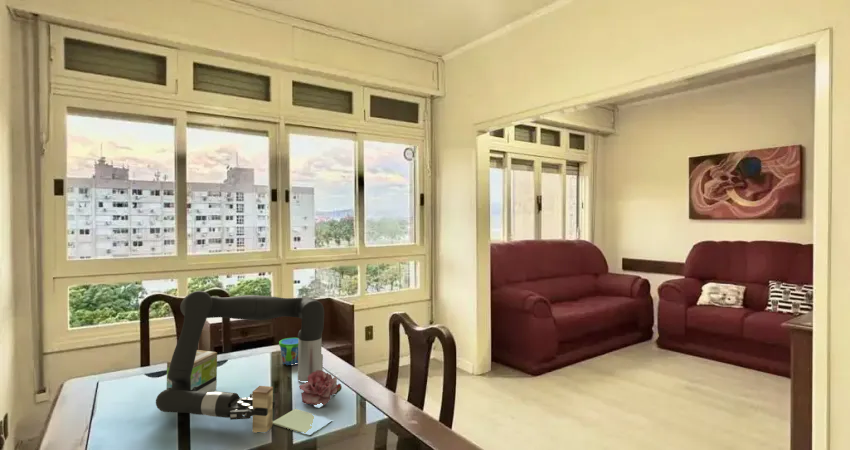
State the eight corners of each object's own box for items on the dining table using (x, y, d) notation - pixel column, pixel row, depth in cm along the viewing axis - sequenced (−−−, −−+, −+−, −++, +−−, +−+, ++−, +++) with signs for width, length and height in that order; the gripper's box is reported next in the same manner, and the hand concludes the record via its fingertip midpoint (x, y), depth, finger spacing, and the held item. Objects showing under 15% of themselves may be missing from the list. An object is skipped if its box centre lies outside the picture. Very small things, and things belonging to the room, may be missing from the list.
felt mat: (295, 410, 160) (295, 408, 160) (332, 421, 153) (332, 419, 153) (271, 423, 150) (271, 422, 150) (310, 436, 143) (310, 434, 143)
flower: (295, 386, 173) (300, 364, 170) (334, 386, 178) (339, 365, 176) (298, 414, 160) (303, 391, 157) (339, 413, 165) (345, 391, 162)
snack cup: (284, 357, 212) (284, 335, 212) (307, 357, 212) (307, 335, 212) (274, 369, 197) (274, 346, 196) (298, 370, 197) (299, 346, 196)
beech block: (259, 425, 149) (259, 385, 148) (272, 426, 149) (272, 386, 148) (252, 432, 144) (252, 391, 144) (266, 433, 144) (266, 392, 143)
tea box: (190, 405, 161) (190, 364, 160) (165, 402, 163) (165, 361, 162) (217, 388, 176) (217, 350, 175) (194, 385, 178) (194, 348, 177)
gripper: (207, 402, 140) (260, 407, 138) (232, 384, 155) (280, 387, 153) (207, 426, 141) (260, 431, 139) (232, 405, 155) (280, 409, 153)
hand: (270, 408), depth 146 cm, fingers closed on beech block, 4 cm apart
